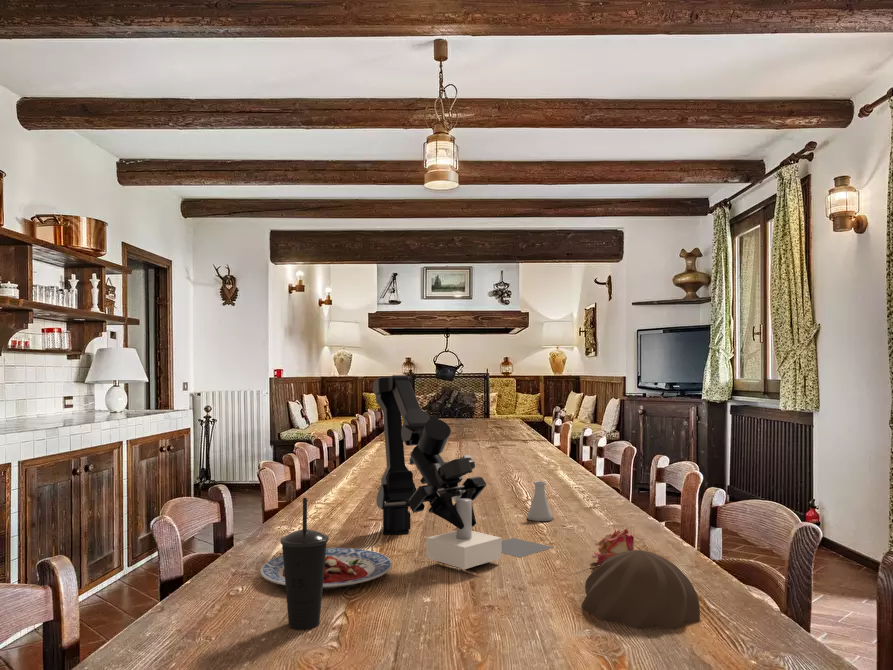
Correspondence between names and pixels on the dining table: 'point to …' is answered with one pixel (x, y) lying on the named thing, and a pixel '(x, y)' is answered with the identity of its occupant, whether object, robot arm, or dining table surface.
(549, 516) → the flask
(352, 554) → the ceramic plate
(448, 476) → the robot arm
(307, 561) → the drinking cup
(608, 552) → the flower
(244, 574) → the dining table surface
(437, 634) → the dining table surface
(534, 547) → the charcoal rubber mat
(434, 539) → the cream bowl cover
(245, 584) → the dining table surface
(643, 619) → the decorative dome
